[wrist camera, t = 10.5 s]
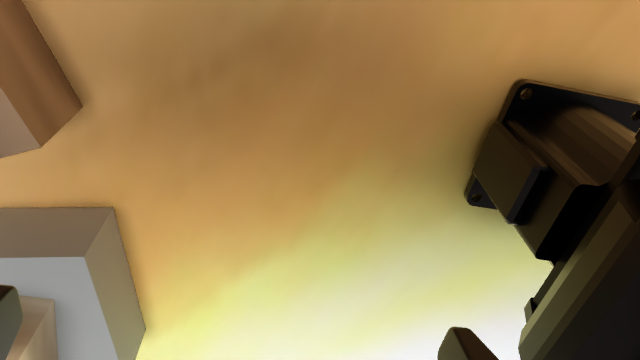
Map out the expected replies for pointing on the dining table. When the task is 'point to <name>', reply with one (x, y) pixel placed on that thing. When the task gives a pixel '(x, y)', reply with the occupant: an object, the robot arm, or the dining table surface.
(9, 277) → the slate block
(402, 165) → the dining table surface
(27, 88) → the walnut block
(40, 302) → the birch cube
